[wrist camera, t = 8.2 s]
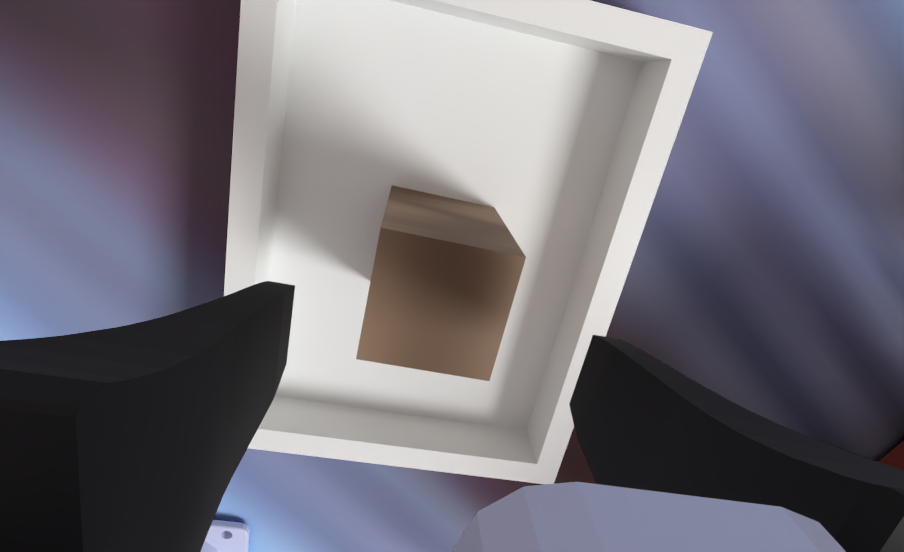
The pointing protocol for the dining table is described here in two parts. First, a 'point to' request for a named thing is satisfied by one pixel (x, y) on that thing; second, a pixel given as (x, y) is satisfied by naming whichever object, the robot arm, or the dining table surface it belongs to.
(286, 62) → the tray
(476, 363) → the walnut block
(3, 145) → the dining table surface
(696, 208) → the dining table surface
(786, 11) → the dining table surface
